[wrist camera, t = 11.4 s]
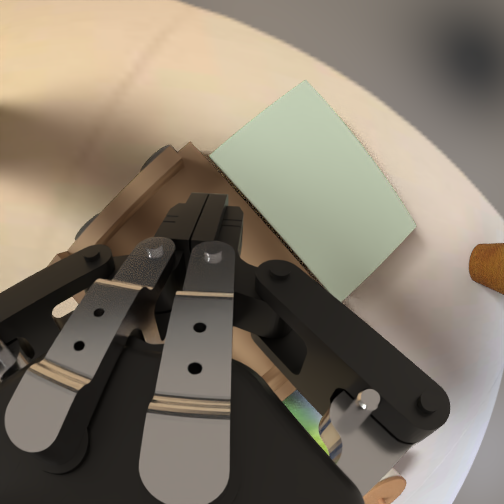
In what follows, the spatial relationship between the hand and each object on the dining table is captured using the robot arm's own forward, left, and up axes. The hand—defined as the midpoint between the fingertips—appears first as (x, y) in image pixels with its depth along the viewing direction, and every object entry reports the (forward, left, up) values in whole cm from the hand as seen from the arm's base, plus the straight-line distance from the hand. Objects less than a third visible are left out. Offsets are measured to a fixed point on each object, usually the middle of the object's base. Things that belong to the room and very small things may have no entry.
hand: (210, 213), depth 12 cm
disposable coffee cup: (+37, -22, -19) cm, 47 cm away
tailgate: (+5, -4, -15) cm, 17 cm away
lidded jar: (+6, -51, -19) cm, 55 cm away
